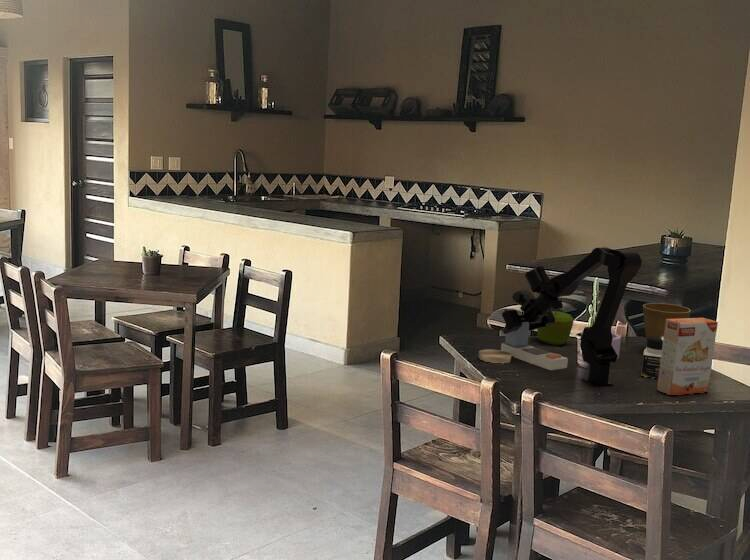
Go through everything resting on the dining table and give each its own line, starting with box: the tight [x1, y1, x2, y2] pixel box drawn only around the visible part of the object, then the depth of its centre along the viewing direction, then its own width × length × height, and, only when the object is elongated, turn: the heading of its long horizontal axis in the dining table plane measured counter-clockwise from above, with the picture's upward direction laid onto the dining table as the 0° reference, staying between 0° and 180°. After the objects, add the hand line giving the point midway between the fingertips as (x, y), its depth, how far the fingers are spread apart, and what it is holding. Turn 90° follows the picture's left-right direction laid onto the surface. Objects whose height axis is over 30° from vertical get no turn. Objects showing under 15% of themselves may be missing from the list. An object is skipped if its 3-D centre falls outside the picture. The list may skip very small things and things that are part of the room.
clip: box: [580, 328, 622, 360], centre depth 264 cm, size 20×12×7 cm, turn 162°
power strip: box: [500, 341, 569, 371], centre depth 251 cm, size 22×7×4 cm, turn 33°
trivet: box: [478, 348, 512, 365], centre depth 249 cm, size 10×10×2 cm
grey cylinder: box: [504, 322, 530, 347], centre depth 256 cm, size 5×5×8 cm
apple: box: [536, 310, 574, 346], centre depth 275 cm, size 12×12×11 cm
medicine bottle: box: [640, 336, 664, 379], centre depth 240 cm, size 7×7×12 cm
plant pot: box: [642, 302, 692, 339], centre depth 267 cm, size 15×15×16 cm
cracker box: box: [656, 317, 719, 396], centre depth 223 cm, size 14×6×21 cm, turn 114°
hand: (514, 331), depth 258 cm, fingers open, 8 cm apart
